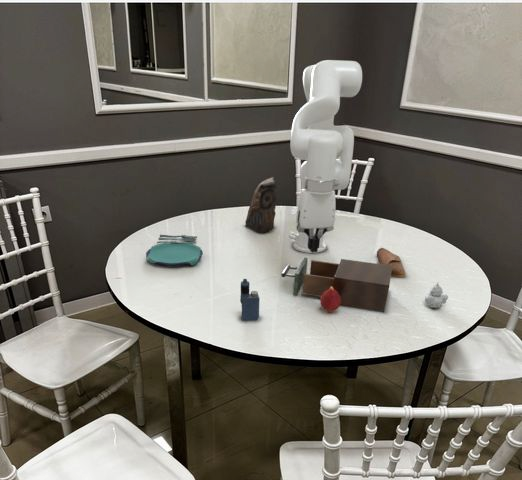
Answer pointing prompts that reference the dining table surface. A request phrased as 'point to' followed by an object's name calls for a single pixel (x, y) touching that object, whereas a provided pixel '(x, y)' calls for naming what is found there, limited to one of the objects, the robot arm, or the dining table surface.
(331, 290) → the onion
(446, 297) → the grey lumpy piece
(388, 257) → the sunglasses case
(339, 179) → the robot arm
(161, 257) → the cutlery set
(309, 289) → the drawer
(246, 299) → the vaping device
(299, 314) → the dining table surface
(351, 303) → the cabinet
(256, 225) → the owl
